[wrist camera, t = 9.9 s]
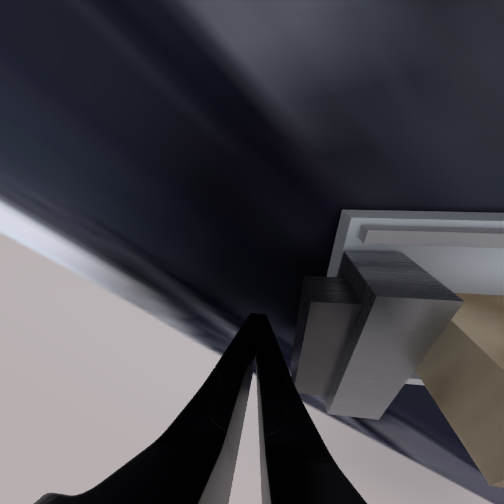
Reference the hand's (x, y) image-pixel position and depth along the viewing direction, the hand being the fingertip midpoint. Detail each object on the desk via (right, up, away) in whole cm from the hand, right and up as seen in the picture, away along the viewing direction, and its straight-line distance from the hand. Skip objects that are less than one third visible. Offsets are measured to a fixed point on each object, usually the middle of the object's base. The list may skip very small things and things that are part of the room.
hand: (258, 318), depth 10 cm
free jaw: (+4, 0, 0) cm, 4 cm away
